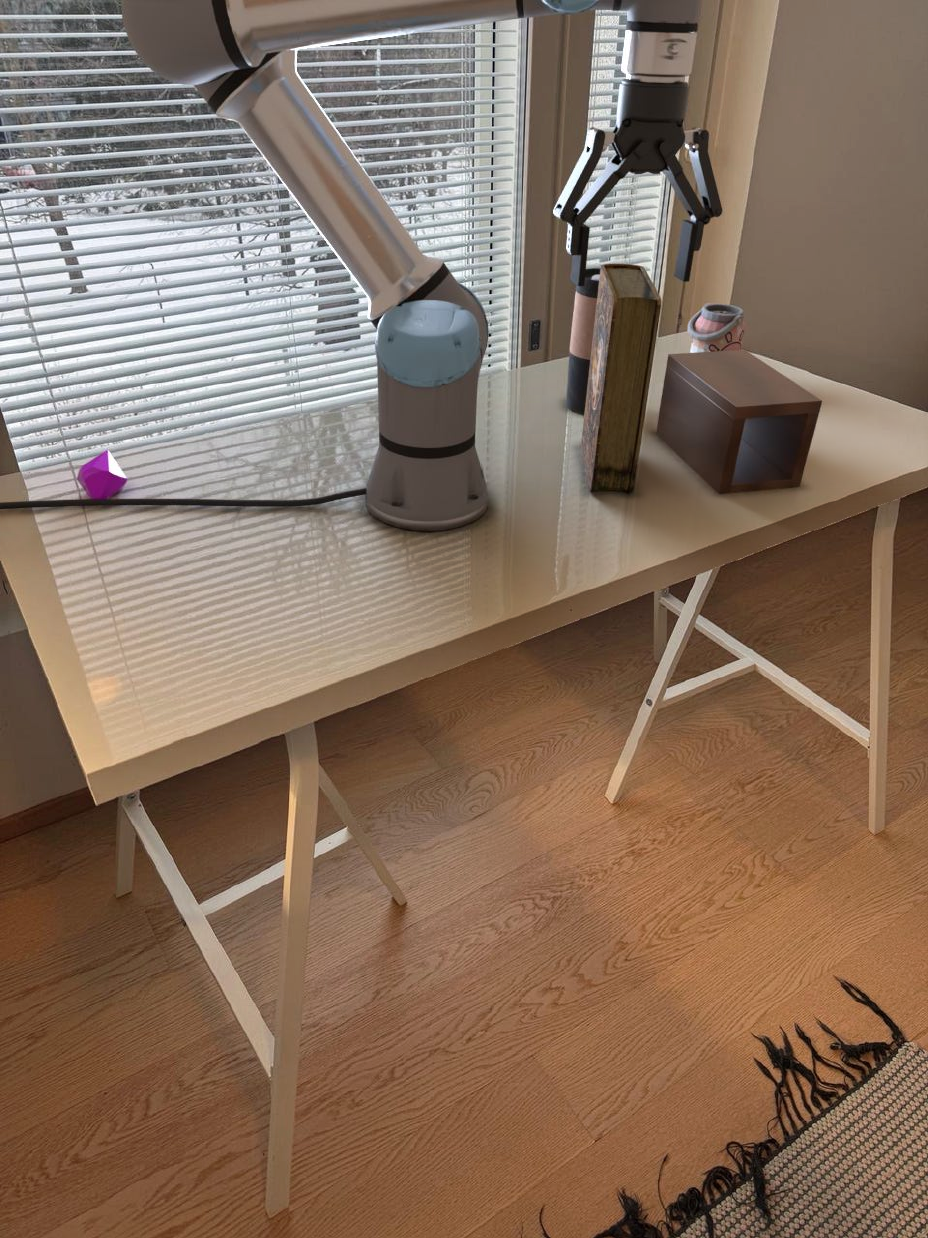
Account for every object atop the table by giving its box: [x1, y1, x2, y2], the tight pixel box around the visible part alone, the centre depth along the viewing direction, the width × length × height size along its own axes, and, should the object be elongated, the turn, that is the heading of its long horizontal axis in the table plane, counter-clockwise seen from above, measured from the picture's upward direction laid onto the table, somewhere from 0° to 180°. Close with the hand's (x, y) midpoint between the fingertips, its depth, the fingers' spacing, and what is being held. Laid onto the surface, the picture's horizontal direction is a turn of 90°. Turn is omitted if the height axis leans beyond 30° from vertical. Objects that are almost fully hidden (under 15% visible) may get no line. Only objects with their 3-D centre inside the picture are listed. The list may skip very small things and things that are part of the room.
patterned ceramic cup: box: [687, 302, 746, 353], centre depth 152 cm, size 9×8×12 cm
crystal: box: [76, 449, 128, 507], centre depth 114 cm, size 5×5×5 cm
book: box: [580, 263, 662, 494], centre depth 119 cm, size 16×6×25 cm, turn 179°
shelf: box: [655, 349, 823, 495], centre depth 126 cm, size 12×20×12 cm, turn 14°
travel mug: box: [565, 267, 601, 415], centre depth 139 cm, size 8×8×20 cm
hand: (630, 281), depth 112 cm, fingers open, 13 cm apart
